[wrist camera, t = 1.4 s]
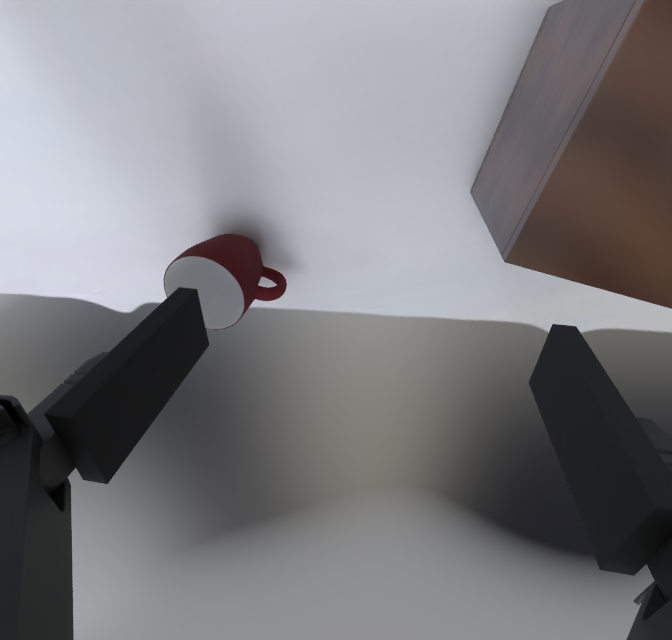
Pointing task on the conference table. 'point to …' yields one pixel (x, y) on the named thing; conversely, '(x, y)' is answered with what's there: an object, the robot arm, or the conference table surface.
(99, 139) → the conference table surface
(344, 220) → the conference table surface
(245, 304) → the mug
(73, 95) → the conference table surface
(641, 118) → the open wooden box
